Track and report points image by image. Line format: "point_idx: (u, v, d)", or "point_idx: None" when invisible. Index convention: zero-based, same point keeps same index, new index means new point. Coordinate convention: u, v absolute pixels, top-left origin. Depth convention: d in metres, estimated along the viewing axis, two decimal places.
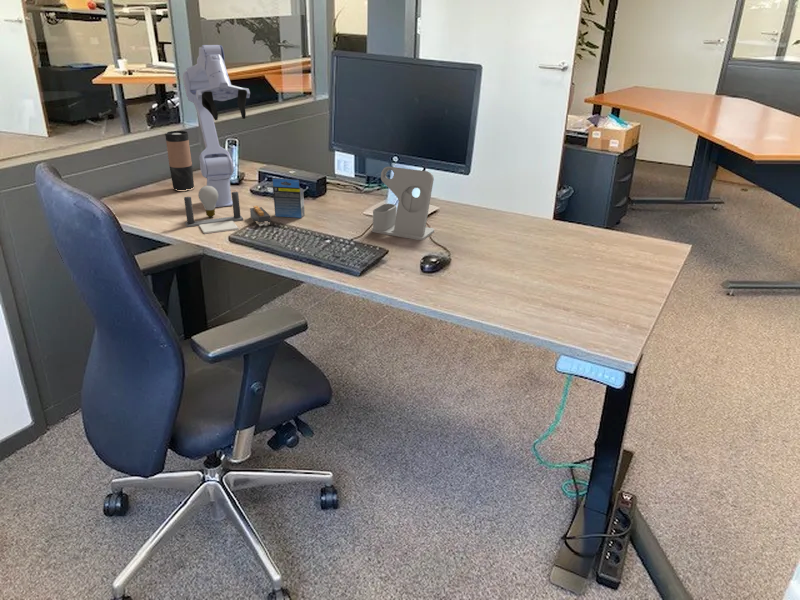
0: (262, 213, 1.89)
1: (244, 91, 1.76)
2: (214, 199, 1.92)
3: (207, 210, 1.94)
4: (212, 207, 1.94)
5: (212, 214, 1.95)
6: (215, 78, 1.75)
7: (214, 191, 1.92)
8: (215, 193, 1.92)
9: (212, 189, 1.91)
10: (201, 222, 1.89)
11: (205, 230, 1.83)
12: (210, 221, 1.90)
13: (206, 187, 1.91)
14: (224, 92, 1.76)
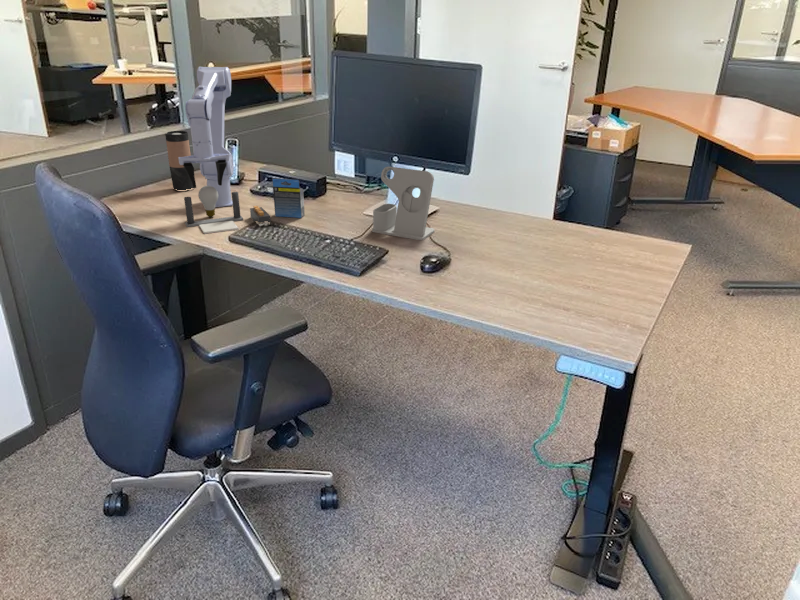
0: (262, 213, 1.89)
1: (224, 165, 1.89)
2: (214, 199, 1.92)
3: (207, 210, 1.94)
4: (212, 207, 1.94)
5: (212, 214, 1.95)
6: (199, 149, 1.84)
7: (214, 191, 1.92)
8: (215, 193, 1.92)
9: (212, 189, 1.91)
10: (201, 222, 1.89)
11: (205, 230, 1.83)
12: (210, 221, 1.90)
13: (206, 187, 1.91)
14: None
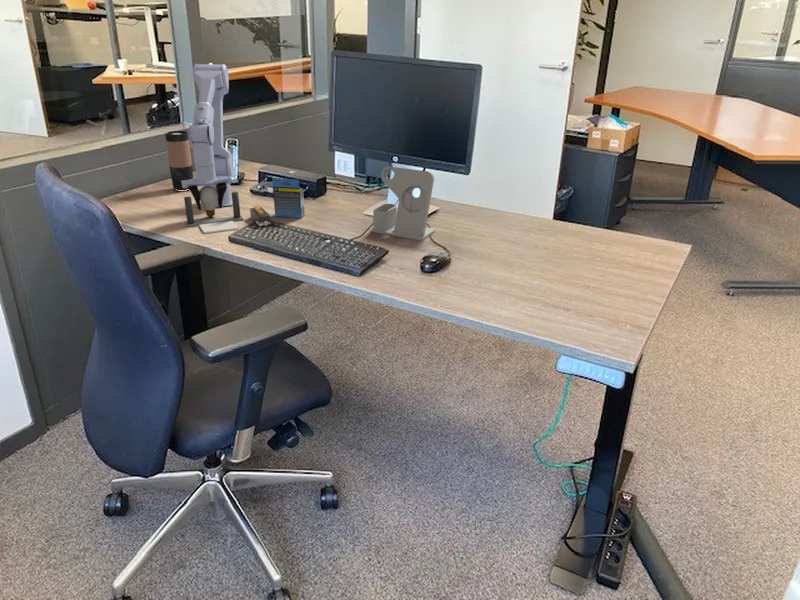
0: (262, 213, 1.89)
1: (224, 188, 1.92)
2: (214, 199, 1.92)
3: (207, 210, 1.94)
4: (212, 207, 1.94)
5: (212, 214, 1.95)
6: (201, 172, 1.87)
7: (214, 191, 1.92)
8: (215, 193, 1.92)
9: (212, 189, 1.91)
10: (201, 222, 1.89)
11: (205, 230, 1.83)
12: (210, 221, 1.90)
13: (206, 187, 1.91)
14: None
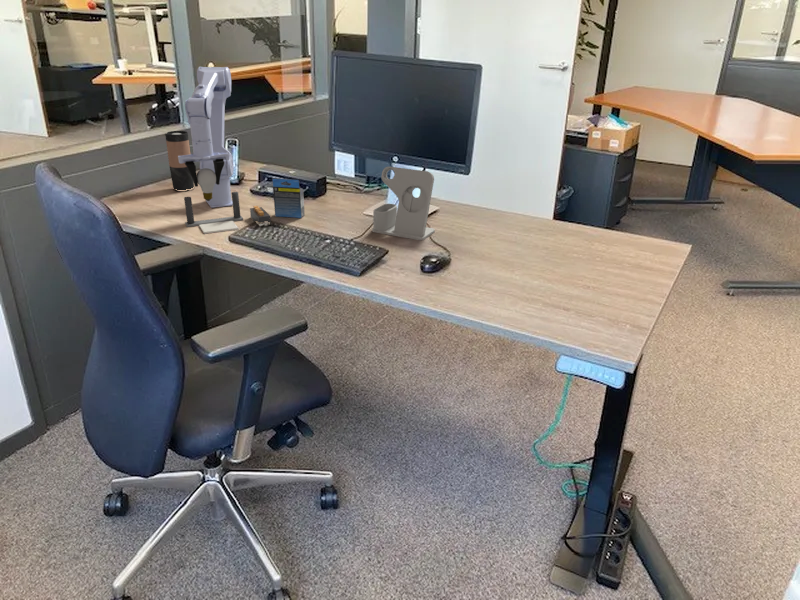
0: (262, 213, 1.89)
1: (222, 164, 1.89)
2: (212, 182, 1.89)
3: (204, 193, 1.91)
4: (210, 190, 1.91)
5: (209, 197, 1.92)
6: (198, 147, 1.84)
7: (212, 173, 1.89)
8: (213, 175, 1.89)
9: (210, 171, 1.89)
10: (201, 222, 1.89)
11: (205, 230, 1.83)
12: (210, 221, 1.90)
13: (204, 169, 1.89)
14: None
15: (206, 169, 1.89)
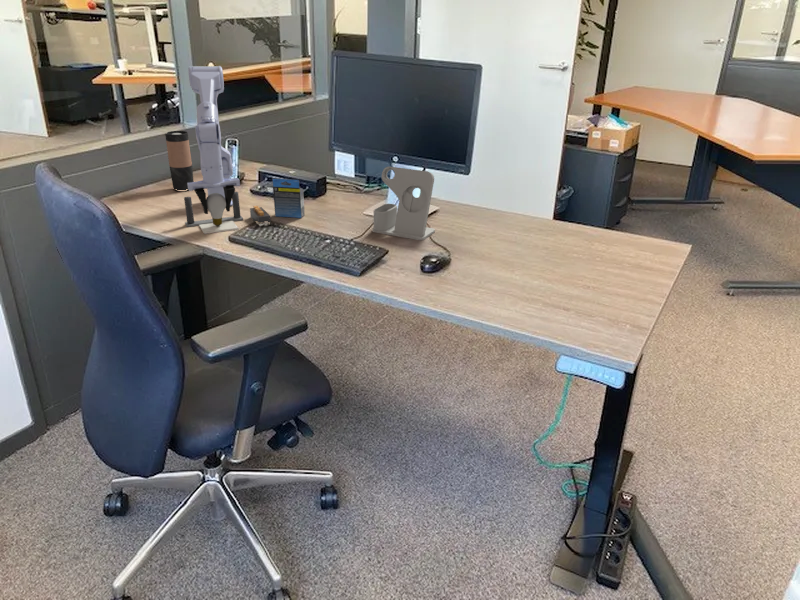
0: (262, 213, 1.89)
1: (232, 190, 1.82)
2: (221, 207, 1.83)
3: (214, 218, 1.85)
4: (219, 215, 1.84)
5: (219, 223, 1.85)
6: (208, 174, 1.77)
7: (222, 199, 1.82)
8: (223, 201, 1.83)
9: (220, 197, 1.82)
10: (201, 222, 1.89)
11: (205, 230, 1.83)
12: (210, 221, 1.90)
13: (214, 194, 1.82)
14: None
15: (216, 194, 1.82)
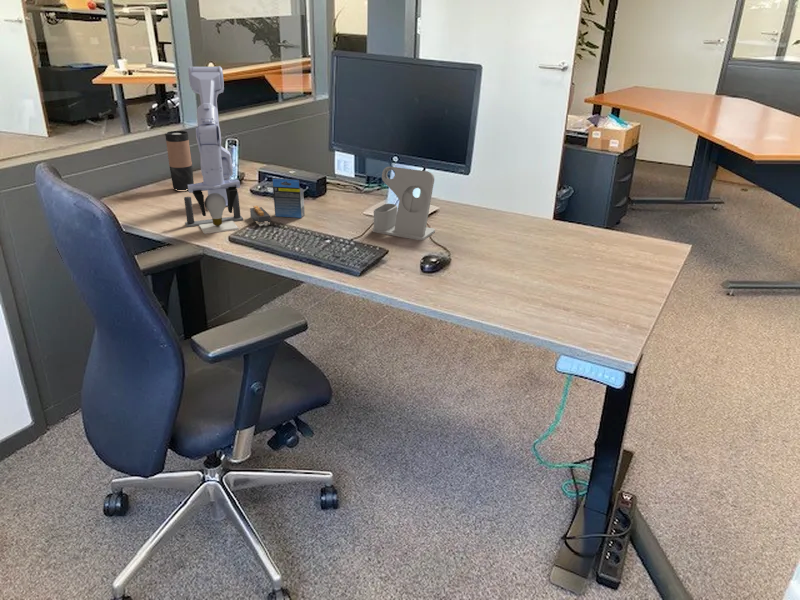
0: (262, 213, 1.89)
1: (235, 192, 1.82)
2: (221, 207, 1.83)
3: (214, 219, 1.85)
4: (219, 216, 1.84)
5: (219, 223, 1.85)
6: (209, 176, 1.78)
7: (221, 199, 1.82)
8: (222, 201, 1.82)
9: (219, 197, 1.82)
10: (201, 222, 1.89)
11: (205, 230, 1.83)
12: (210, 221, 1.90)
13: (213, 195, 1.82)
14: None
15: (215, 194, 1.82)
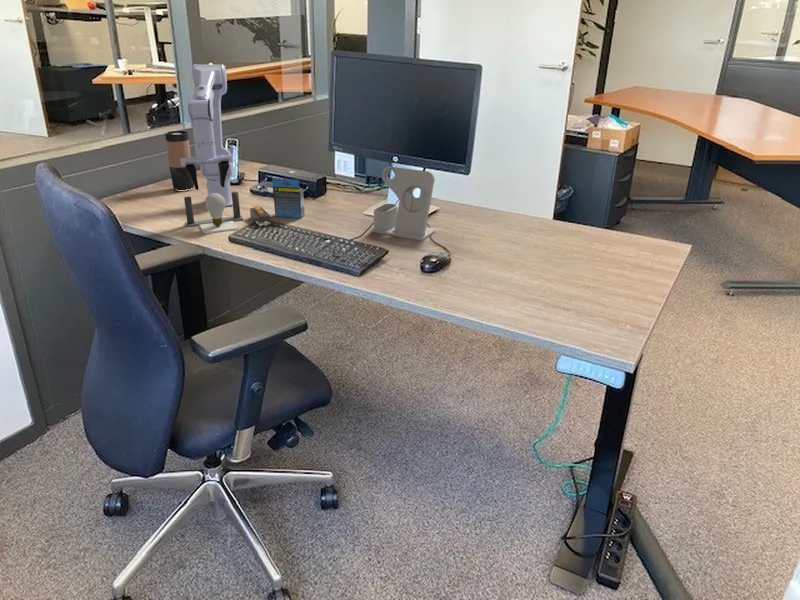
0: (262, 213, 1.89)
1: (227, 166, 1.86)
2: (221, 207, 1.83)
3: (214, 219, 1.85)
4: (219, 216, 1.84)
5: (219, 223, 1.85)
6: (201, 150, 1.81)
7: (221, 199, 1.82)
8: (222, 201, 1.82)
9: (219, 197, 1.82)
10: (201, 222, 1.89)
11: (205, 230, 1.83)
12: (210, 221, 1.90)
13: (213, 195, 1.82)
14: None
15: (215, 194, 1.82)
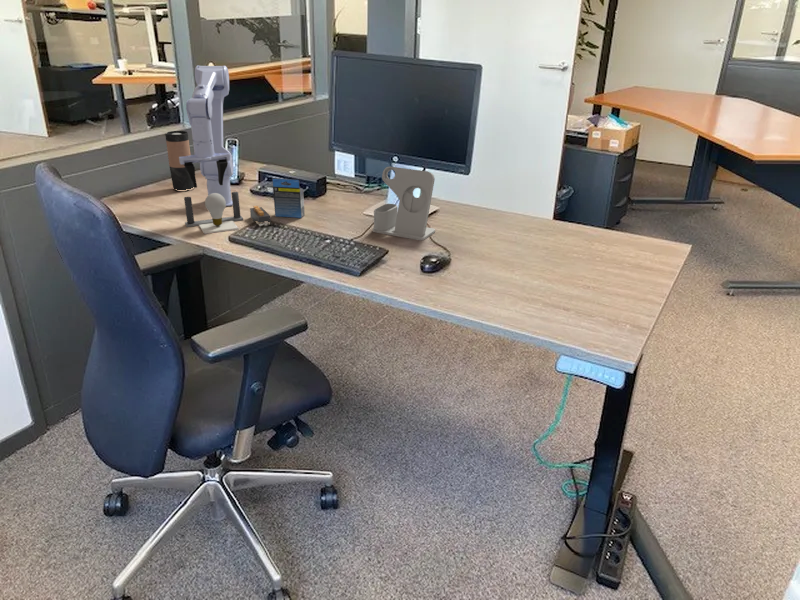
0: (262, 213, 1.89)
1: (225, 164, 1.88)
2: (221, 207, 1.83)
3: (214, 219, 1.85)
4: (219, 215, 1.84)
5: (219, 223, 1.85)
6: (199, 148, 1.83)
7: (221, 199, 1.82)
8: (222, 201, 1.82)
9: (219, 197, 1.82)
10: (201, 222, 1.89)
11: (205, 230, 1.83)
12: (210, 221, 1.90)
13: (213, 195, 1.82)
14: None
15: (215, 194, 1.82)
